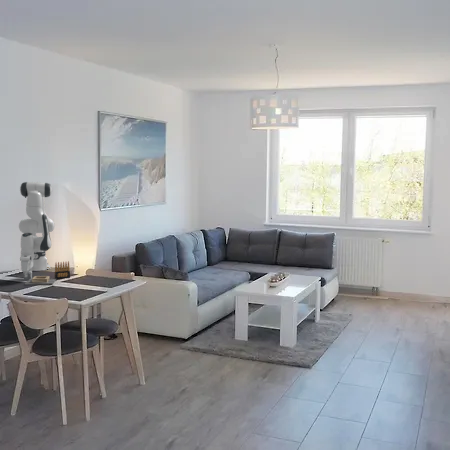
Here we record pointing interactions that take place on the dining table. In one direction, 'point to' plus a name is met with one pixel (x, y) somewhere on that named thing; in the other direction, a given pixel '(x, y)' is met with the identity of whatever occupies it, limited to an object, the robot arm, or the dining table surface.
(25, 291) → the dining table surface
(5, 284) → the dining table surface
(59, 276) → the ammunition clip
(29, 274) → the connector
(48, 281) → the end holder
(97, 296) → the dining table surface
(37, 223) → the robot arm
